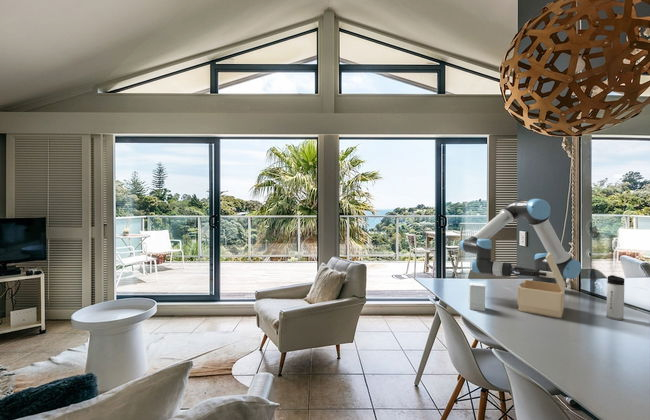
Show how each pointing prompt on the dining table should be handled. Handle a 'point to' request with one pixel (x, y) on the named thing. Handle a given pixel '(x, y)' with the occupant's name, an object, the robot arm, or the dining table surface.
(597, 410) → the dining table surface
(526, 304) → the carton
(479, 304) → the supplement box
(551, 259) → the carton flap
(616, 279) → the travel mug
